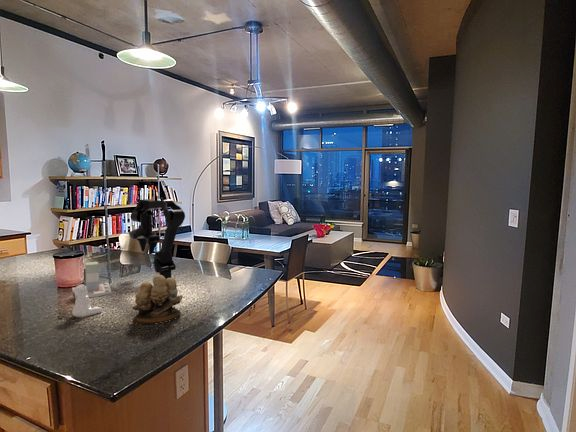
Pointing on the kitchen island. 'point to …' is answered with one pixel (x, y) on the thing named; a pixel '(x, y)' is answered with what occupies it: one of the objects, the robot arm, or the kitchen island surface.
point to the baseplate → (99, 291)
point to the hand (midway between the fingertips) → (146, 252)
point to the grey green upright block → (92, 276)
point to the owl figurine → (157, 301)
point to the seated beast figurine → (83, 303)
